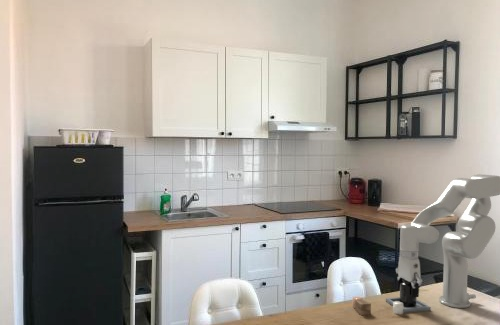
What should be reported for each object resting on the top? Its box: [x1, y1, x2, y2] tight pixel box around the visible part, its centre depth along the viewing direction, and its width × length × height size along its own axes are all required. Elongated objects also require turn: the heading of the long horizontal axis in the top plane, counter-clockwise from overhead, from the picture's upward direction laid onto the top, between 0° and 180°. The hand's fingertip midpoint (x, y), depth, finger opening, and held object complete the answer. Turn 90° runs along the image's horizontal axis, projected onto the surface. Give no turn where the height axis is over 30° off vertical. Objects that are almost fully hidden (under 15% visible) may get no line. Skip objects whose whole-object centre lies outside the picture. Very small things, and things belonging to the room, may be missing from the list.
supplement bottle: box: [399, 278, 418, 307], centre depth 176 cm, size 7×7×12 cm
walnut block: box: [354, 299, 372, 316], centre depth 167 cm, size 4×4×4 cm
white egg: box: [392, 301, 404, 315], centre depth 168 cm, size 4×4×4 cm
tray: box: [385, 296, 432, 314], centre depth 176 cm, size 13×13×2 cm
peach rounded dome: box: [352, 296, 364, 310], centre depth 173 cm, size 4×4×4 cm
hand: (407, 293), depth 175 cm, fingers open, 9 cm apart
